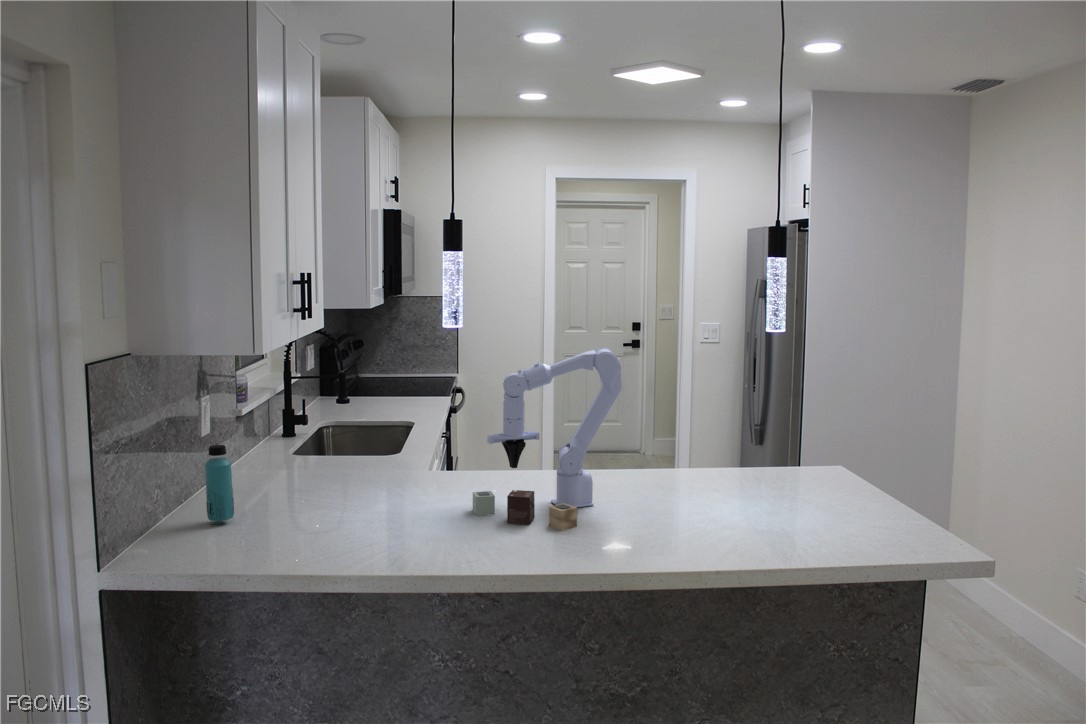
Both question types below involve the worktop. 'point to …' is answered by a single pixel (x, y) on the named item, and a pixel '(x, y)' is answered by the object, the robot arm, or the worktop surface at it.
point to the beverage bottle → (219, 485)
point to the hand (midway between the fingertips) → (513, 467)
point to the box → (520, 507)
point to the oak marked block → (563, 516)
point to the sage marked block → (483, 503)
